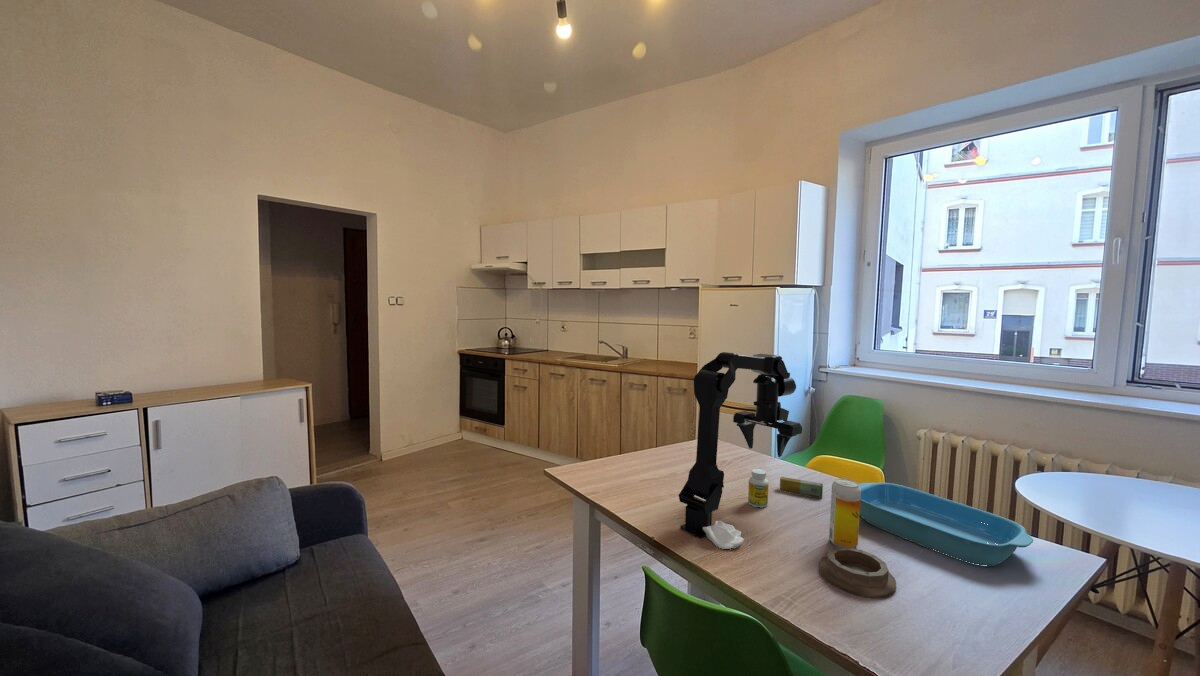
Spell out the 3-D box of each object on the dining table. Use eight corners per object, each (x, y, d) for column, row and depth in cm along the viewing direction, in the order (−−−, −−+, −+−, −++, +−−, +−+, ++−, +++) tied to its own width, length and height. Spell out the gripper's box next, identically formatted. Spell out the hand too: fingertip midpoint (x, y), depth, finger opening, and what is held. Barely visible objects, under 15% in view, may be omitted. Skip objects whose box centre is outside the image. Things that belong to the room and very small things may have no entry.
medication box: (822, 496, 138) (823, 483, 138) (822, 499, 136) (823, 486, 135) (780, 488, 144) (780, 475, 143) (779, 491, 141) (779, 478, 141)
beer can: (863, 550, 106) (866, 487, 105) (836, 550, 107) (840, 487, 106) (849, 537, 112) (852, 478, 112) (824, 537, 113) (827, 477, 112)
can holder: (878, 607, 86) (880, 589, 86) (806, 572, 97) (807, 556, 97) (907, 581, 95) (908, 564, 94) (837, 552, 106) (838, 537, 105)
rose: (695, 523, 109) (710, 509, 117) (694, 541, 109) (709, 525, 117) (737, 536, 103) (750, 520, 111) (736, 555, 104) (749, 538, 111)
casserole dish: (1043, 556, 106) (1046, 526, 105) (1011, 587, 94) (1014, 554, 93) (875, 499, 137) (877, 476, 136) (834, 517, 124) (835, 491, 124)
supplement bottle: (762, 499, 134) (763, 467, 133) (771, 507, 129) (772, 474, 128) (744, 500, 133) (745, 468, 133) (753, 508, 128) (754, 475, 127)
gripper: (813, 401, 128) (811, 455, 129) (754, 390, 143) (752, 440, 144) (792, 405, 121) (789, 463, 122) (732, 394, 136) (730, 446, 137)
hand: (764, 452), depth 131 cm, fingers open, 9 cm apart
